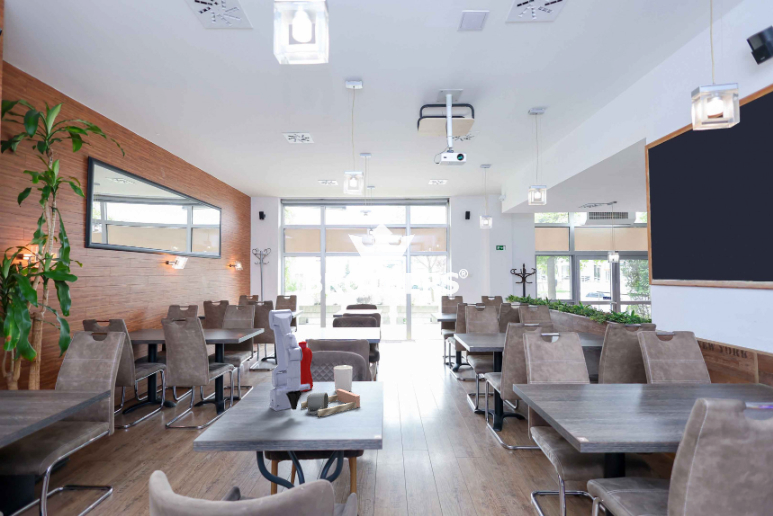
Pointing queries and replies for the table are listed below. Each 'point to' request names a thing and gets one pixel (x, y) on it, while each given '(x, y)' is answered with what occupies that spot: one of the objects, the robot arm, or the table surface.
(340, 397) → the end stop
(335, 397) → the rails
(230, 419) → the table surface
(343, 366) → the candle holder
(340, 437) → the table surface
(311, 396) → the ceramic mug
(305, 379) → the water bottle
